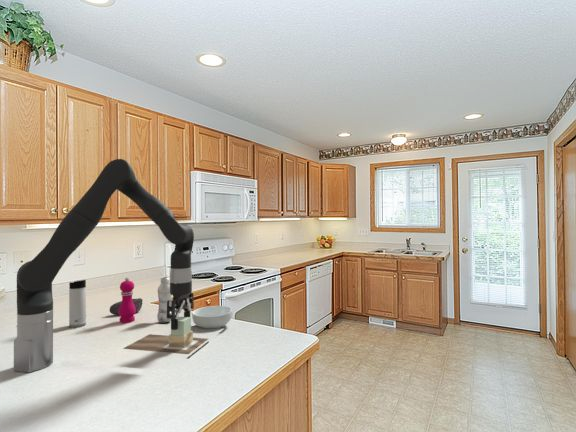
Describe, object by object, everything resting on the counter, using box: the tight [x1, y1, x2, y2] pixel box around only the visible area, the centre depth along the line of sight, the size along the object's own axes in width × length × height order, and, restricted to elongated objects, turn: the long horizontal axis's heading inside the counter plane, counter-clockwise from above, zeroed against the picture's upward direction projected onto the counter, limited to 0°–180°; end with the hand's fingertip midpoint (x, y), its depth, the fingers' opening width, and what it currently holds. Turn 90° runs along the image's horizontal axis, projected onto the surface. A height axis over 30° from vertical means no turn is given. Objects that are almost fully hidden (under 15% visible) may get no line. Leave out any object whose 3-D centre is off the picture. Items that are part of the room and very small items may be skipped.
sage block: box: [170, 316, 192, 336], centre depth 122 cm, size 5×5×5 cm
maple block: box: [168, 330, 194, 348], centre depth 122 cm, size 6×6×4 cm
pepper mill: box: [118, 277, 137, 324], centre depth 156 cm, size 7×7×20 cm
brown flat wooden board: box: [122, 333, 210, 360], centre depth 123 cm, size 15×25×2 cm, turn 77°
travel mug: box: [68, 279, 87, 329], centre depth 150 cm, size 6×7×20 cm
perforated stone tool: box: [109, 297, 143, 316], centre depth 169 cm, size 15×5×7 cm, turn 117°
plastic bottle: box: [156, 276, 173, 324], centre depth 154 cm, size 6×7×20 cm
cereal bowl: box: [191, 305, 233, 329], centre depth 147 cm, size 17×17×7 cm
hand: (181, 325), depth 122 cm, fingers open, 8 cm apart
